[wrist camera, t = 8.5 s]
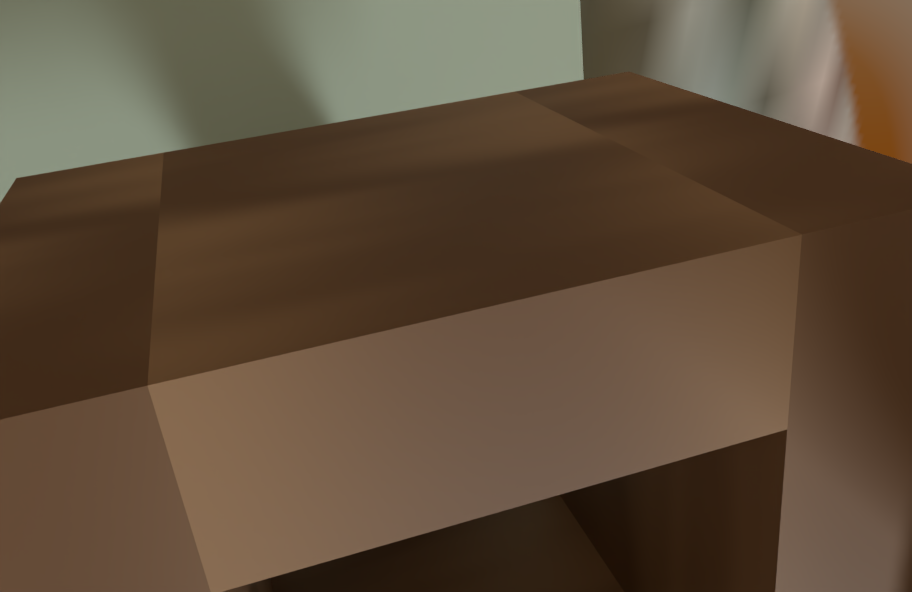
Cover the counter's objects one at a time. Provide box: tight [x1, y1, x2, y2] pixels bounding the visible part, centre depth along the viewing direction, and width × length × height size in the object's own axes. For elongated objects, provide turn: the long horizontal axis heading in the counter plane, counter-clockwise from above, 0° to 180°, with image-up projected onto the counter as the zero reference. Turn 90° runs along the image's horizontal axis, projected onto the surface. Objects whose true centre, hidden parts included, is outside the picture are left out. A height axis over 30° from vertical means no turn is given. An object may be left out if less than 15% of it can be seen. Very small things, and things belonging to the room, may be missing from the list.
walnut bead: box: [0, 72, 912, 592], centre depth 10 cm, size 8×8×6 cm
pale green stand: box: [0, 0, 584, 203], centre depth 17 cm, size 14×22×10 cm, turn 6°
